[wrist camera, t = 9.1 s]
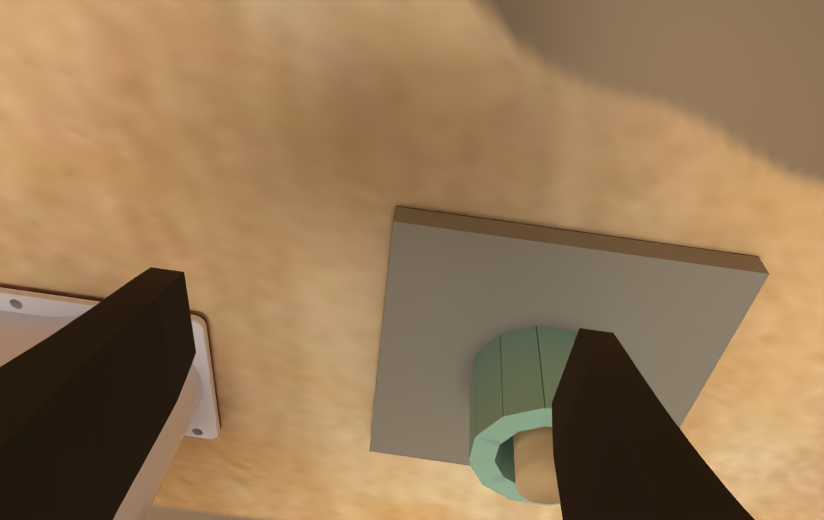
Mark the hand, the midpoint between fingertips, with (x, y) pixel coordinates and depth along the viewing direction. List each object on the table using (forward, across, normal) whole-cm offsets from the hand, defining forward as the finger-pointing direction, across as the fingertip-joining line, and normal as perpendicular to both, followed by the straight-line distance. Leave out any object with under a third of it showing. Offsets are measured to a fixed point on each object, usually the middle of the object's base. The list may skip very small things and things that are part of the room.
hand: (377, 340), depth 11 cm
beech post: (+9, -6, +10) cm, 15 cm away
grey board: (+10, -6, +10) cm, 16 cm away
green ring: (+9, -6, +10) cm, 15 cm away
